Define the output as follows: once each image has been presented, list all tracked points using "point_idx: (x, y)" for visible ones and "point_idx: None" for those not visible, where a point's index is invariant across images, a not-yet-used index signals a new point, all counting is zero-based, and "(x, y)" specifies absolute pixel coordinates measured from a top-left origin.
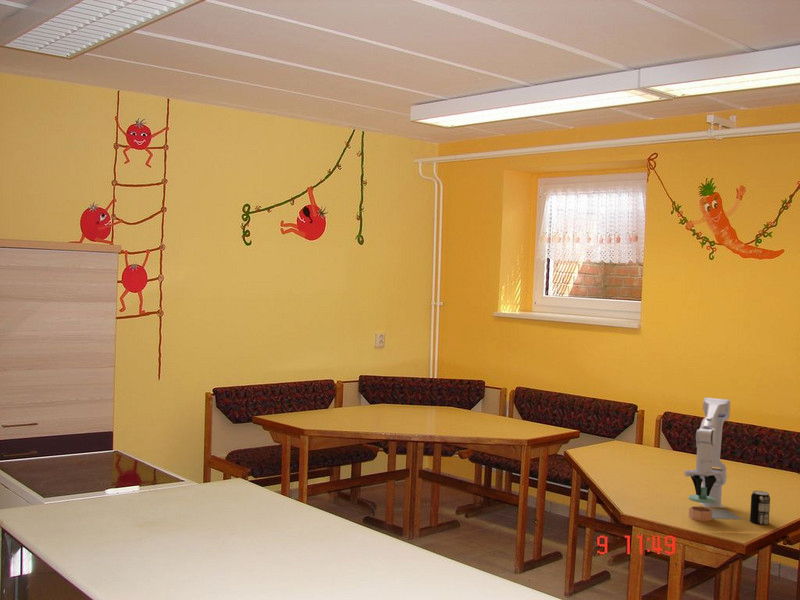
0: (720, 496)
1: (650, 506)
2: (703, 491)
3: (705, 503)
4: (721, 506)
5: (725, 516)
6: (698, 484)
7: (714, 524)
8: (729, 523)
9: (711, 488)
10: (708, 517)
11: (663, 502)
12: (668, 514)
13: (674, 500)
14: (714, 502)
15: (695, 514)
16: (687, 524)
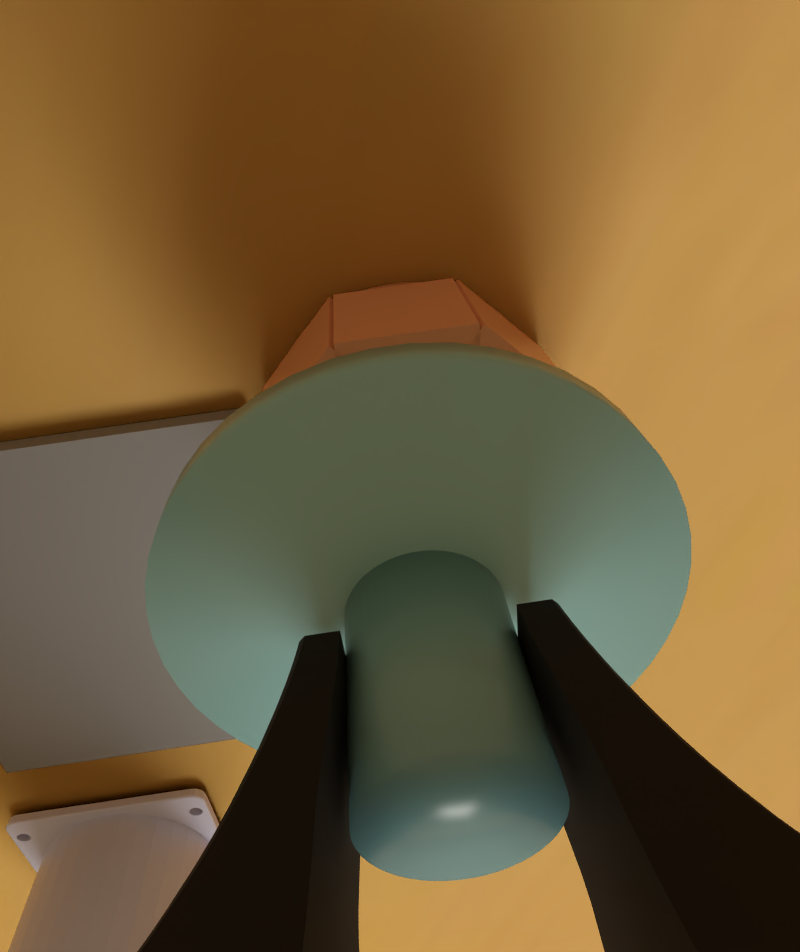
0: (17, 946)
1: (743, 731)
2: (474, 675)
3: (198, 852)
4: (42, 836)
5: (45, 539)
6: (751, 824)
7: (278, 195)
8: (27, 294)
9: (239, 789)
10: (345, 312)
11: (554, 842)
12: (716, 534)
13: (431, 898)
14: (230, 418)
15: (539, 355)
16: (717, 119)
